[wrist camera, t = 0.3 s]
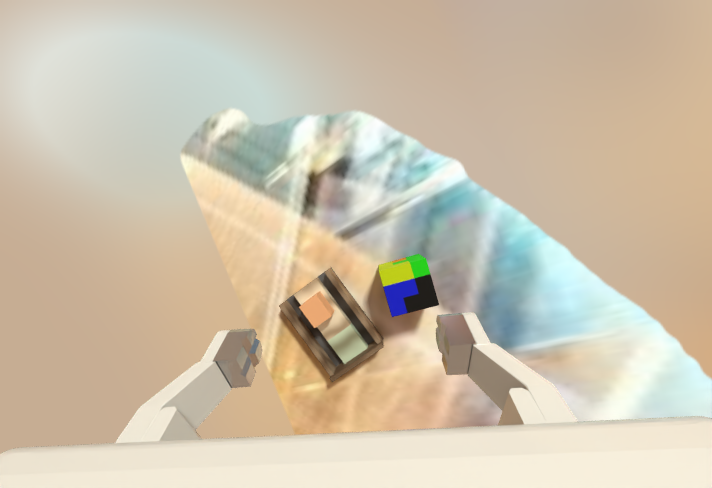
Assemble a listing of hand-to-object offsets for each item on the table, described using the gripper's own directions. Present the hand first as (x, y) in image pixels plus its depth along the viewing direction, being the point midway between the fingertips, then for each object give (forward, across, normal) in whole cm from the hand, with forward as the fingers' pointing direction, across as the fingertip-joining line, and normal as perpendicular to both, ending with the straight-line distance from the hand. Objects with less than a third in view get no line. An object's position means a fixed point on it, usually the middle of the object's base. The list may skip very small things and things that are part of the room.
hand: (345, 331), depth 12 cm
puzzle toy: (+43, +9, -32) cm, 55 cm away
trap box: (+39, -10, -40) cm, 57 cm away
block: (+39, -13, -35) cm, 54 cm away
